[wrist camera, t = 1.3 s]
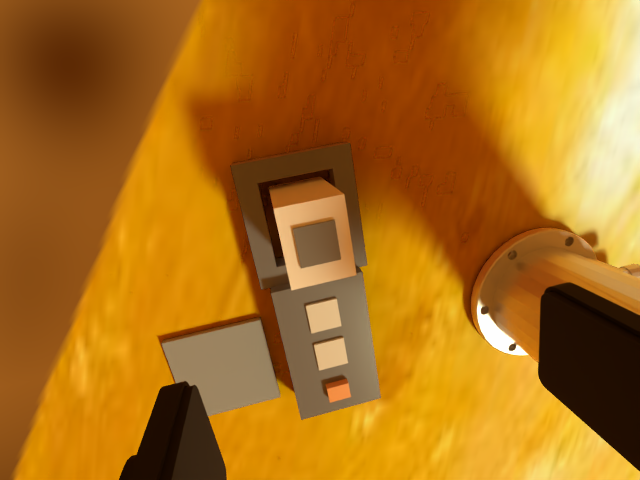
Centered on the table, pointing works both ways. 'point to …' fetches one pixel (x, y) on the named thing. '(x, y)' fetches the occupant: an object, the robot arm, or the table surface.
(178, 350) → the rubber mat
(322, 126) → the table surface
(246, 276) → the table surface
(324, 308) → the charging dock
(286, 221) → the plug
